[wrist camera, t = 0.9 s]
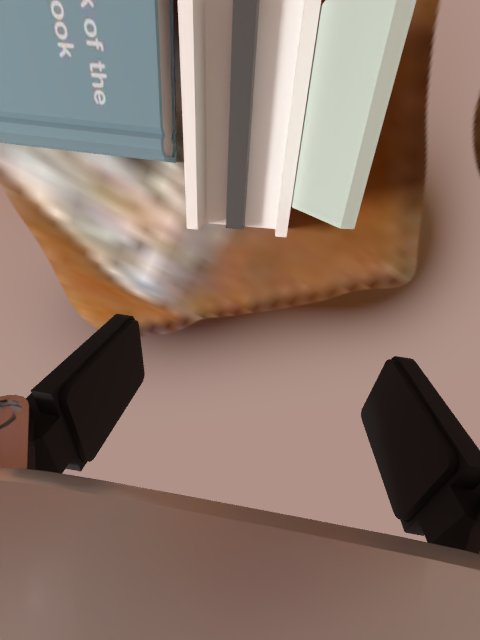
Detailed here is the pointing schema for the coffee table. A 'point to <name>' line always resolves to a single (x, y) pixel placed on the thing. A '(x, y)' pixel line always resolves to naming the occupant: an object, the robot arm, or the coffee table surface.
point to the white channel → (244, 107)
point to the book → (89, 76)
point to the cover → (348, 104)
